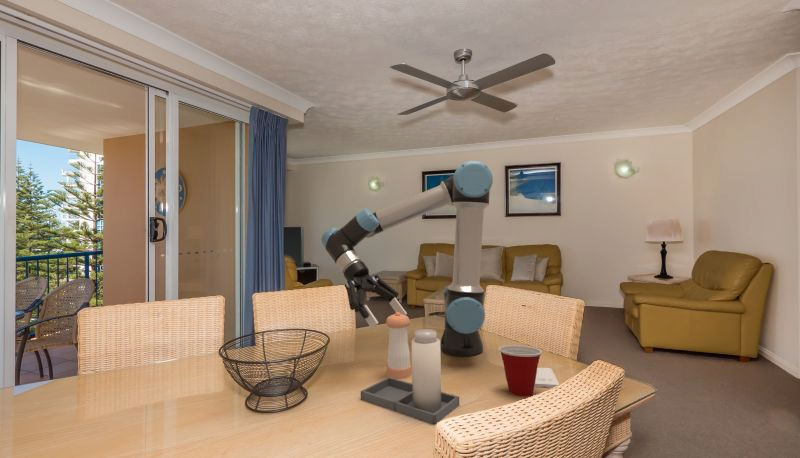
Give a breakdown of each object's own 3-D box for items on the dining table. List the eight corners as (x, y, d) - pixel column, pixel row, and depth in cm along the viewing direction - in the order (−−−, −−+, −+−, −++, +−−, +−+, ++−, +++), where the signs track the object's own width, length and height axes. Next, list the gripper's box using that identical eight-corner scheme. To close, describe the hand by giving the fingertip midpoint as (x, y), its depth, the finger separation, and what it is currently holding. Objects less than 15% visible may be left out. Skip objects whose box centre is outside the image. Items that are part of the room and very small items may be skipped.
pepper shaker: (415, 374, 113) (414, 310, 113) (405, 384, 107) (404, 315, 107) (393, 371, 116) (392, 309, 116) (382, 380, 110) (381, 314, 110)
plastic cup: (542, 388, 102) (541, 343, 102) (543, 406, 92) (542, 356, 92) (500, 383, 106) (500, 340, 106) (497, 400, 95) (496, 352, 95)
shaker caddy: (388, 387, 104) (388, 376, 104) (459, 409, 91) (459, 396, 91) (360, 403, 95) (360, 391, 95) (434, 429, 82) (434, 415, 82)
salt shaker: (423, 398, 95) (421, 326, 95) (446, 406, 91) (445, 330, 91) (407, 409, 89) (405, 333, 90) (431, 417, 85) (430, 337, 85)
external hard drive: (551, 373, 114) (560, 390, 102) (523, 372, 116) (528, 388, 103) (551, 368, 114) (560, 384, 102) (522, 366, 116) (528, 382, 103)
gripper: (372, 272, 133) (408, 320, 124) (317, 280, 113) (354, 338, 104) (384, 257, 130) (421, 305, 121) (329, 263, 110) (368, 321, 101)
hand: (390, 321), depth 112 cm, fingers open, 13 cm apart
